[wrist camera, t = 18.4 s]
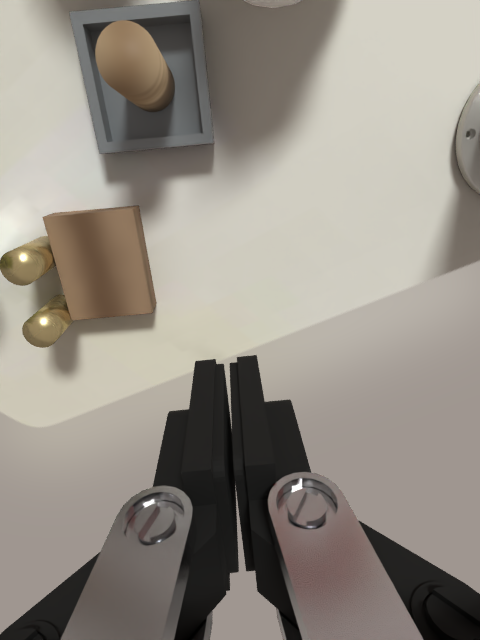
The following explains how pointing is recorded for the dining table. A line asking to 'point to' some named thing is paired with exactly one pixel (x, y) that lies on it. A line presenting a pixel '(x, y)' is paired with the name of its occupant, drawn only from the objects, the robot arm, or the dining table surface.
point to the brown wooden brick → (102, 262)
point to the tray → (181, 57)
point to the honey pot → (272, 3)
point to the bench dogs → (24, 270)
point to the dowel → (134, 66)
